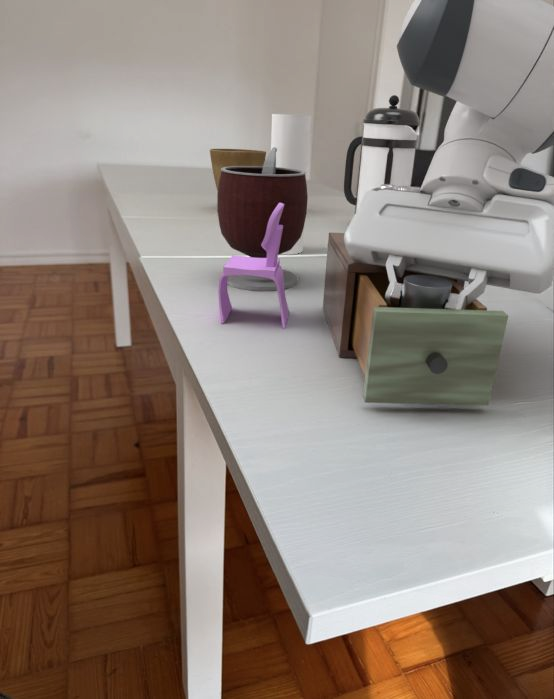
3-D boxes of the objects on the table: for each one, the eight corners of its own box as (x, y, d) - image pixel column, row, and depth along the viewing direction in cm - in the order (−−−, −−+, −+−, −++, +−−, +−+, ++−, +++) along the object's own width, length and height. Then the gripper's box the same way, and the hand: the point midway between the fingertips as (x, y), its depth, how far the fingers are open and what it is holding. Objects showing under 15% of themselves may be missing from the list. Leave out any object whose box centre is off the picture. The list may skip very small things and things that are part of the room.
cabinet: (450, 360, 63) (467, 268, 58) (339, 357, 62) (348, 264, 58) (412, 311, 78) (423, 235, 74) (322, 309, 77) (328, 232, 73)
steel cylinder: (432, 341, 56) (443, 275, 53) (446, 359, 52) (459, 288, 49) (390, 340, 56) (399, 273, 53) (400, 358, 52) (410, 287, 49)
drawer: (493, 412, 50) (514, 320, 46) (367, 409, 49) (379, 315, 46) (437, 341, 65) (450, 268, 62) (340, 338, 65) (348, 264, 61)
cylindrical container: (276, 244, 114) (282, 114, 104) (308, 249, 111) (317, 115, 102) (260, 251, 108) (265, 113, 98) (293, 256, 105) (301, 115, 96)
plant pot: (275, 213, 151) (278, 151, 145) (235, 218, 141) (236, 152, 135) (238, 205, 160) (239, 147, 154) (198, 209, 150) (197, 147, 144)
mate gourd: (295, 296, 82) (303, 155, 74) (206, 287, 84) (205, 149, 76) (308, 270, 96) (317, 149, 88) (231, 263, 98) (233, 144, 91)
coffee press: (408, 227, 140) (426, 98, 128) (411, 239, 125) (431, 95, 114) (340, 222, 142) (351, 95, 131) (335, 233, 128) (348, 91, 116)
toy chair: (227, 305, 77) (228, 195, 71) (289, 310, 76) (296, 199, 70) (215, 325, 69) (215, 204, 63) (284, 331, 69) (291, 209, 63)
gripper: (364, 163, 58) (315, 272, 54) (579, 181, 48) (538, 315, 45) (375, 201, 63) (331, 303, 59) (570, 225, 54) (534, 348, 50)
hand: (422, 309), depth 52 cm, fingers closed on steel cylinder, 4 cm apart
